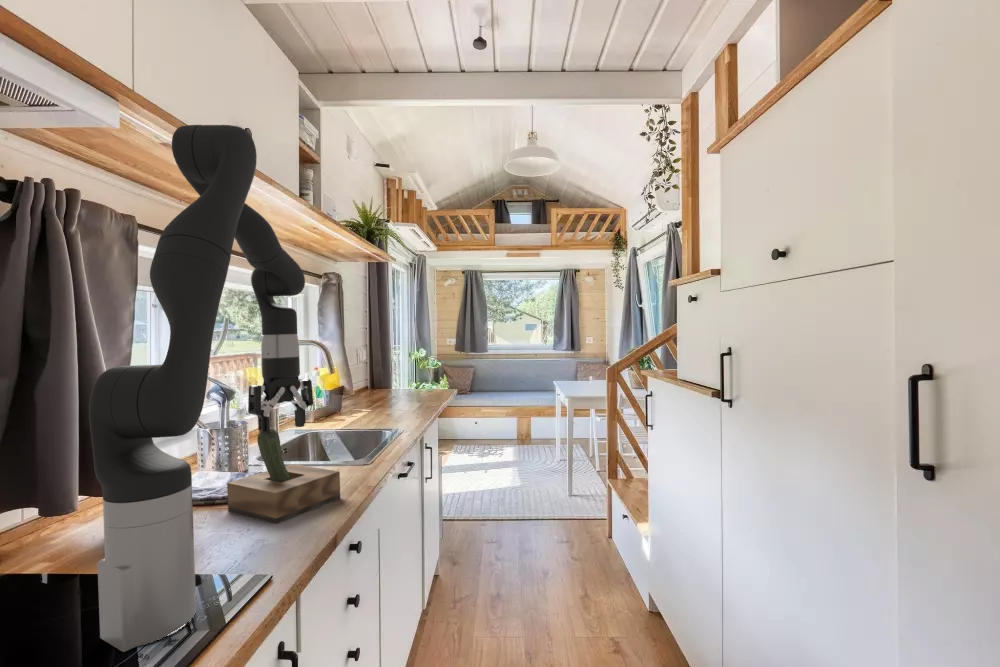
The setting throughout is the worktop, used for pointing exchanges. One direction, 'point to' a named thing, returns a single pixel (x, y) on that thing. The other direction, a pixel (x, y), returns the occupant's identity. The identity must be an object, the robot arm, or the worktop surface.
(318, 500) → the socket block
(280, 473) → the vegetable
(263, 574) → the worktop surface
